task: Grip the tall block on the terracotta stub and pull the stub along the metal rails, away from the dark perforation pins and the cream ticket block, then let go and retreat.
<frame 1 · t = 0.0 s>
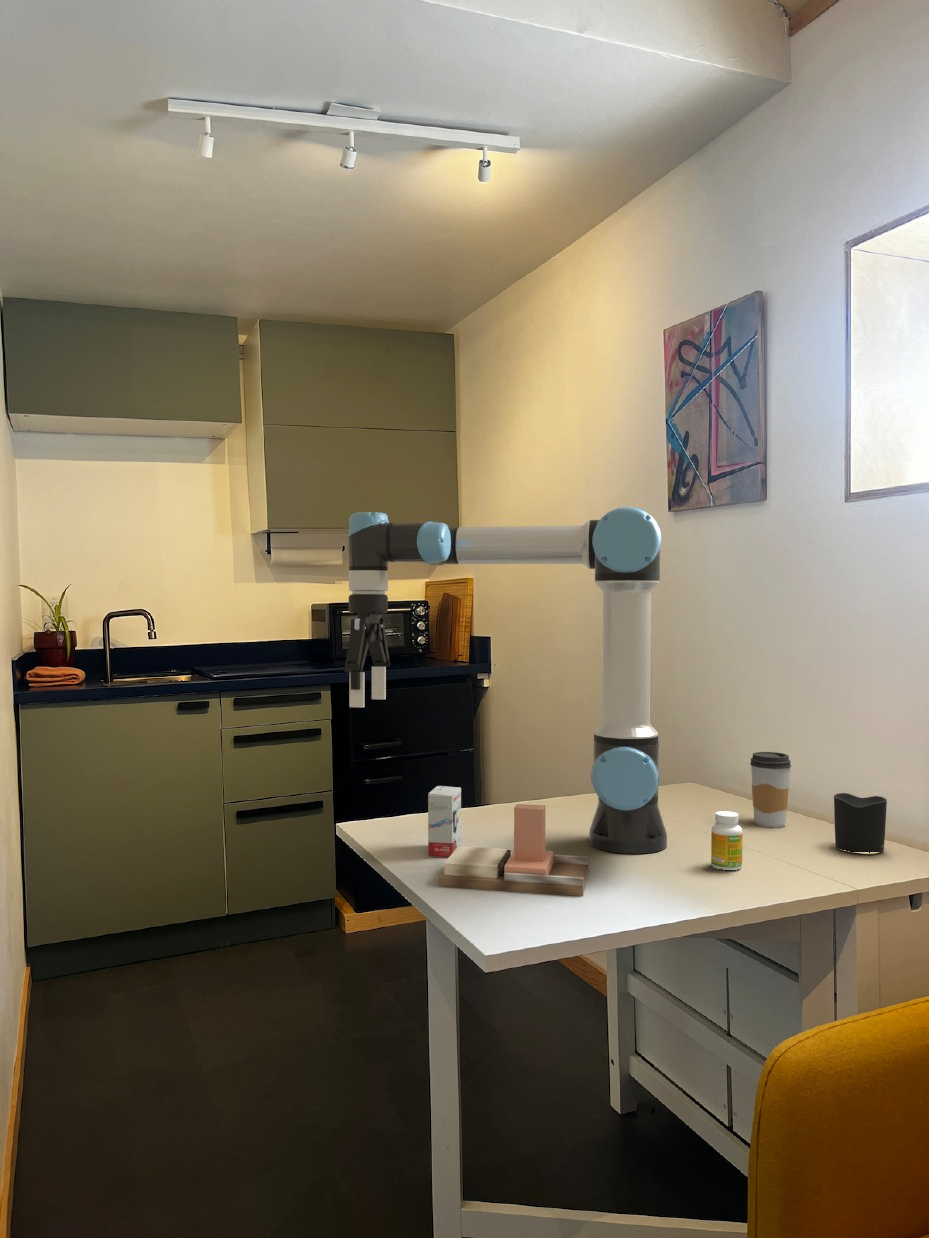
hand: (368, 703, 180), 28 cm above the table, fingers open, 13 cm apart
coffee cup: (769, 825, 200), on the table
pen holder: (859, 850, 180), on the table
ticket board: (504, 877, 161), on the table
supplement bottle: (726, 868, 168), on the table
stub: (529, 838, 160), point 7 cm above the table, slide at 0.0 cm
ink box: (444, 852, 178), on the table
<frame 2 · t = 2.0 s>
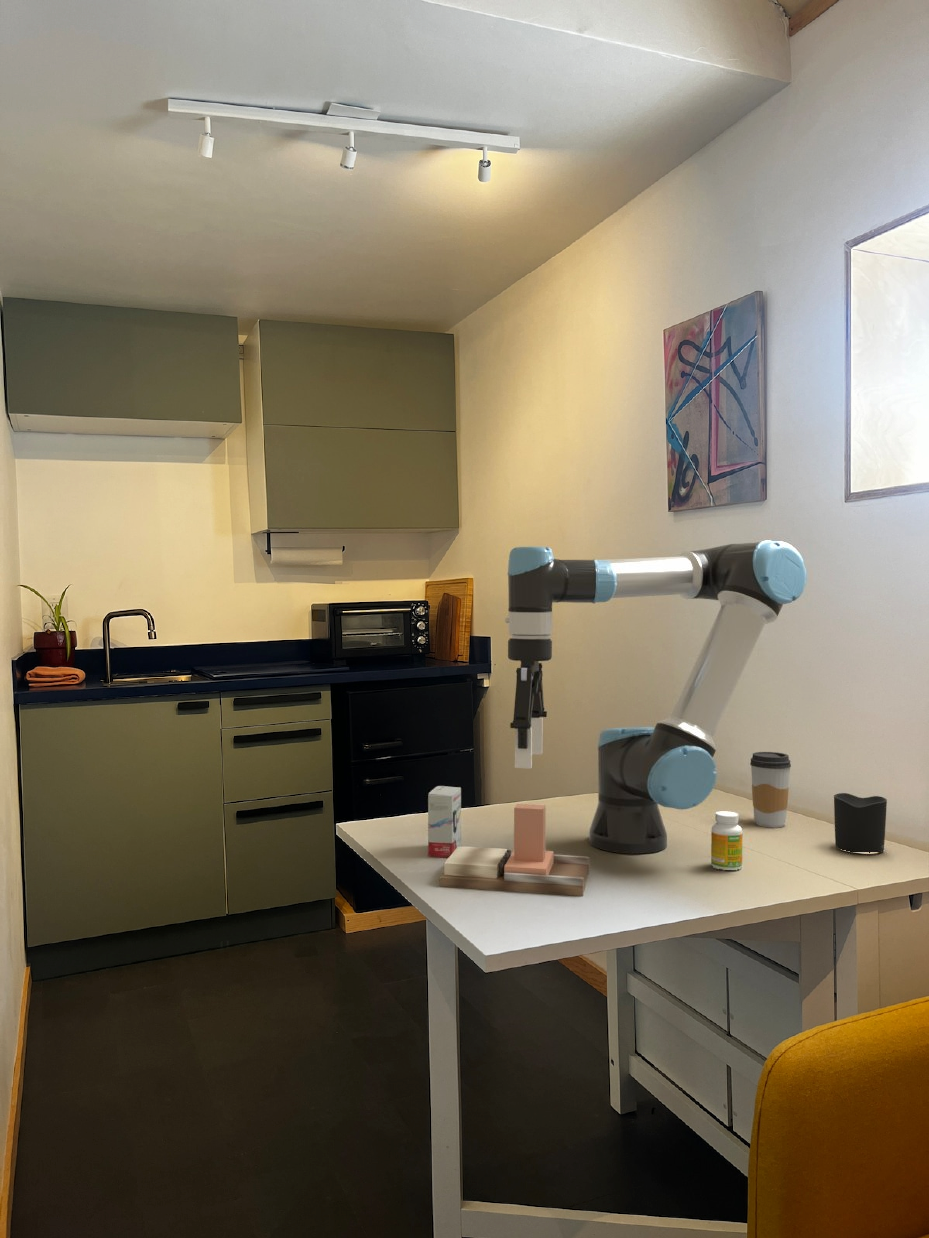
hand: (529, 760, 160), 20 cm above the table, fingers open, 13 cm apart
nothing on the table moved.
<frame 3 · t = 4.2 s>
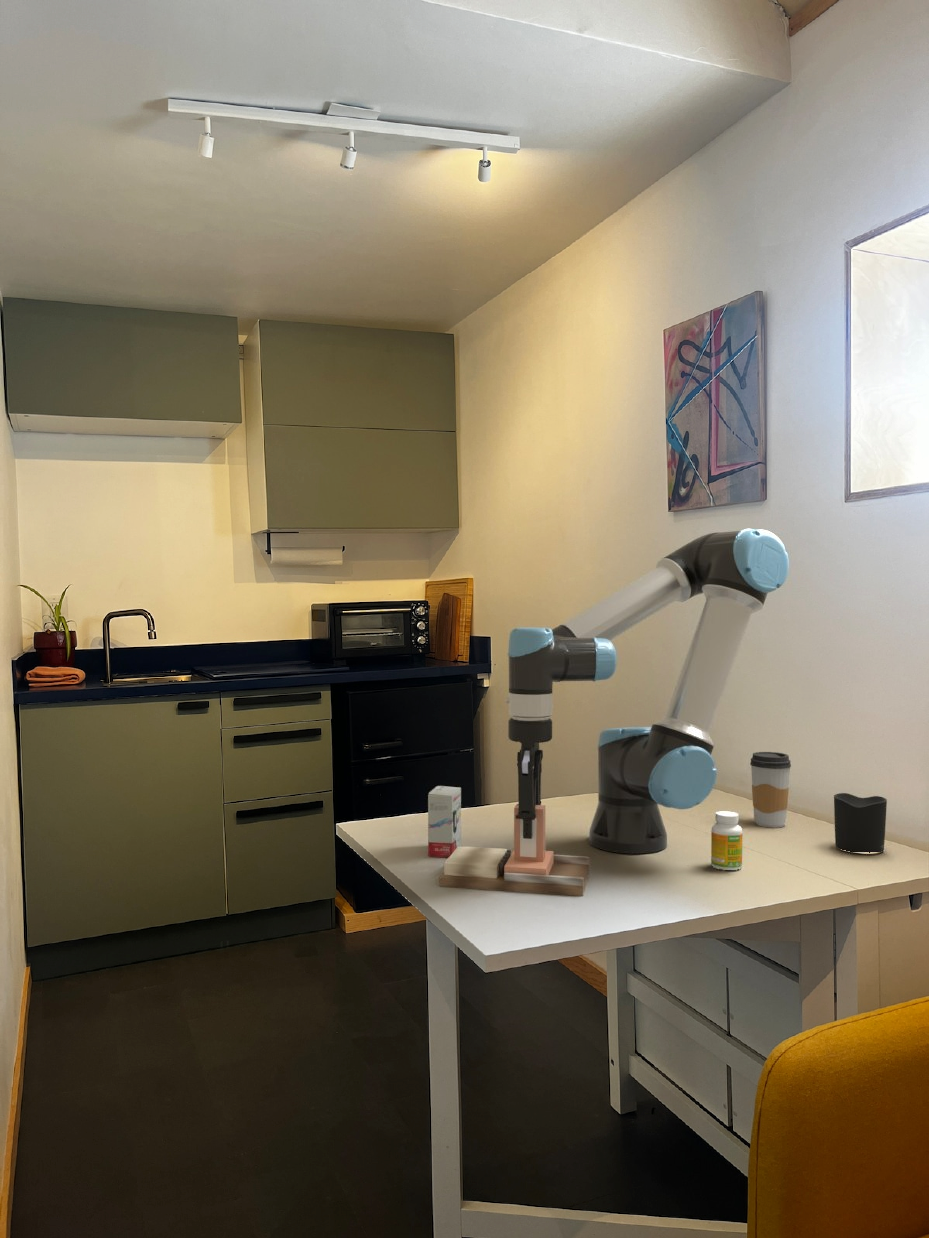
hand: (529, 852, 160), 5 cm above the table, fingers closed on stub, 3 cm apart
stub: (529, 838, 160), point 7 cm above the table, slide at 0.0 cm, touching gripper
everything else where it was.
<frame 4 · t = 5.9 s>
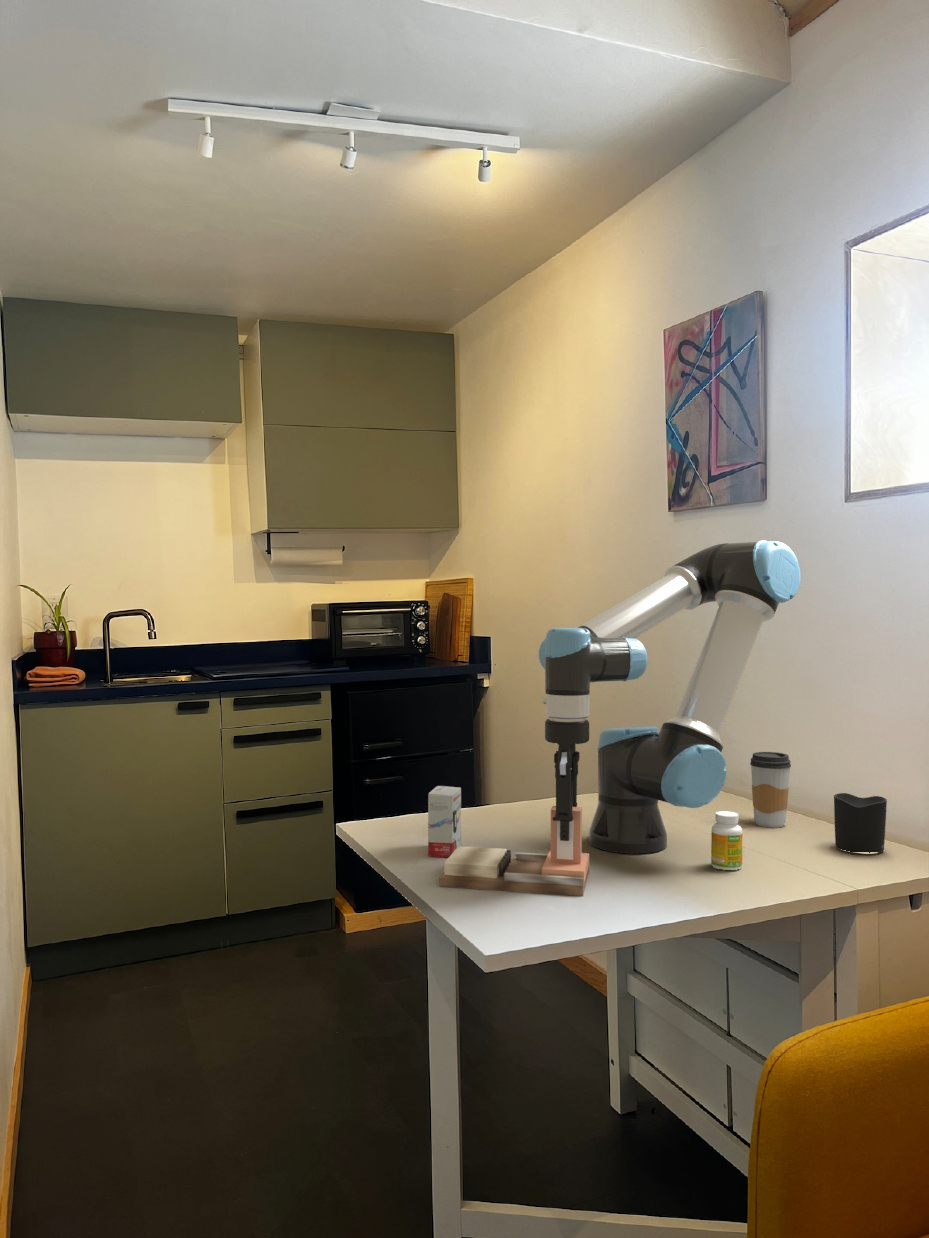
hand: (566, 855, 159), 5 cm above the table, fingers closed on stub, 3 cm apart
stub: (566, 840, 159), point 7 cm above the table, slide at 6.3 cm, touching gripper
everything else where it was.
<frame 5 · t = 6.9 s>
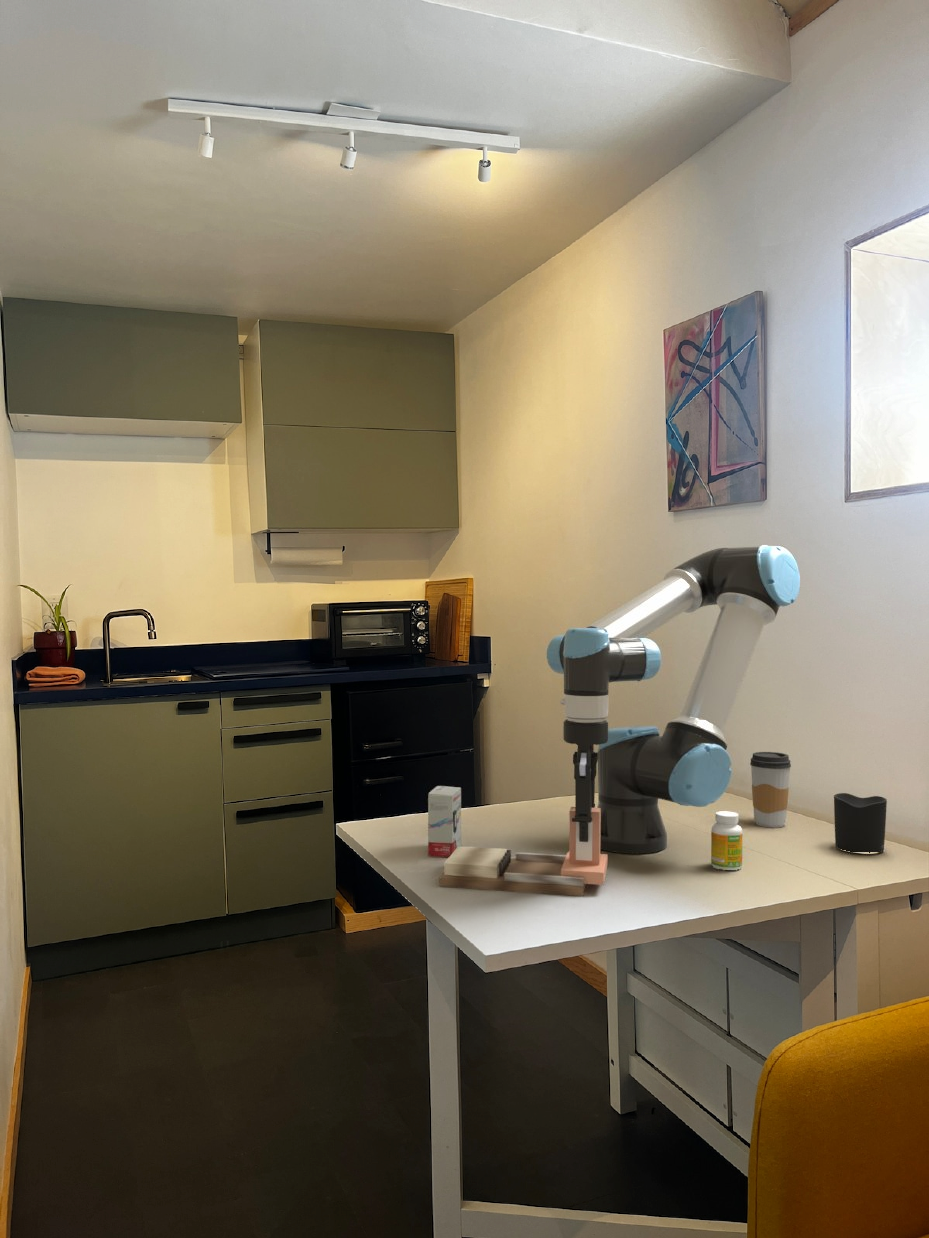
hand: (584, 856, 158), 5 cm above the table, fingers closed on stub, 3 cm apart
stub: (585, 841, 158), point 7 cm above the table, slide at 9.5 cm, touching gripper
everything else where it was.
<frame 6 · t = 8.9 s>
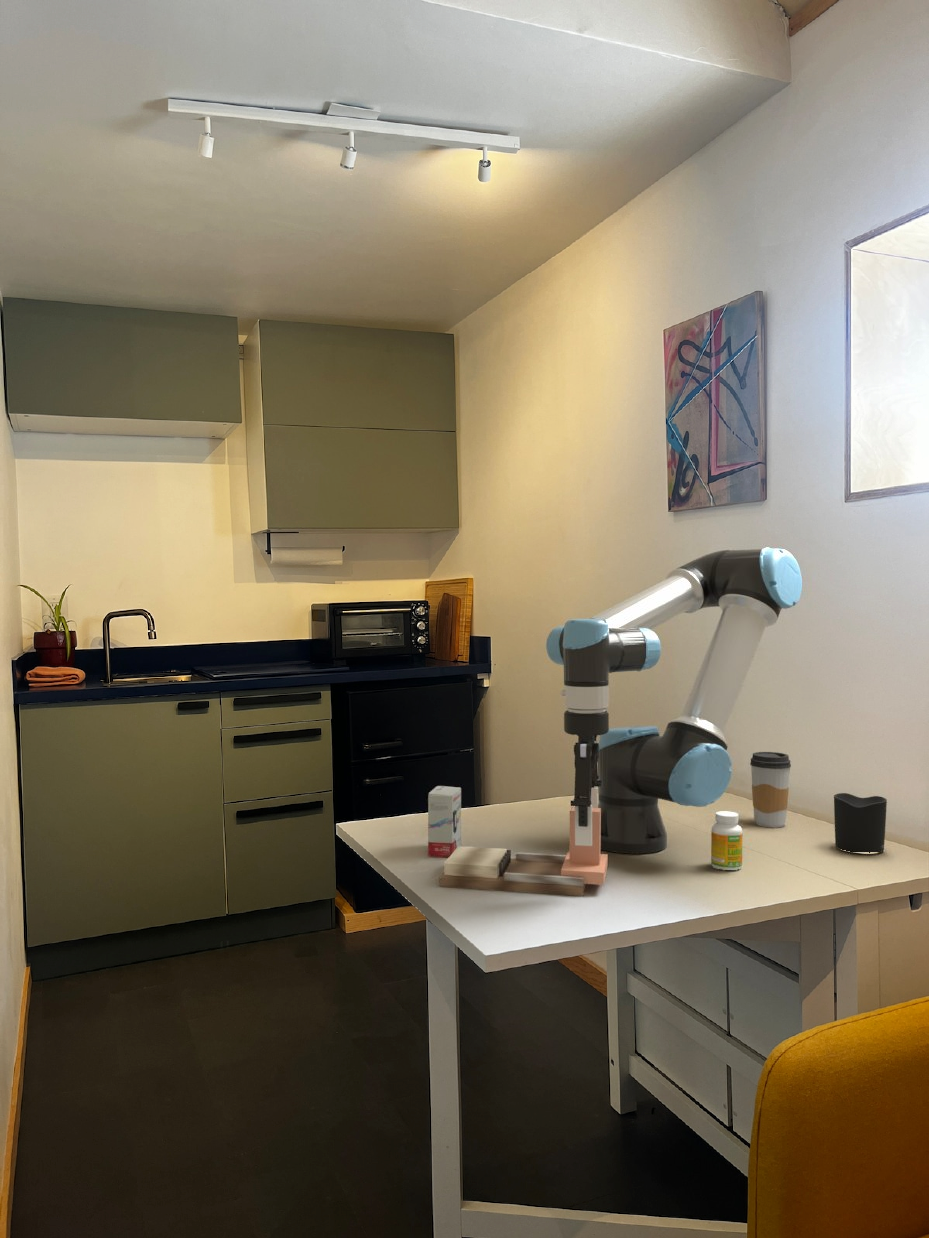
hand: (586, 834, 159), 8 cm above the table, fingers open, 13 cm apart
stub: (585, 841, 158), point 7 cm above the table, slide at 9.5 cm
everything else where it was.
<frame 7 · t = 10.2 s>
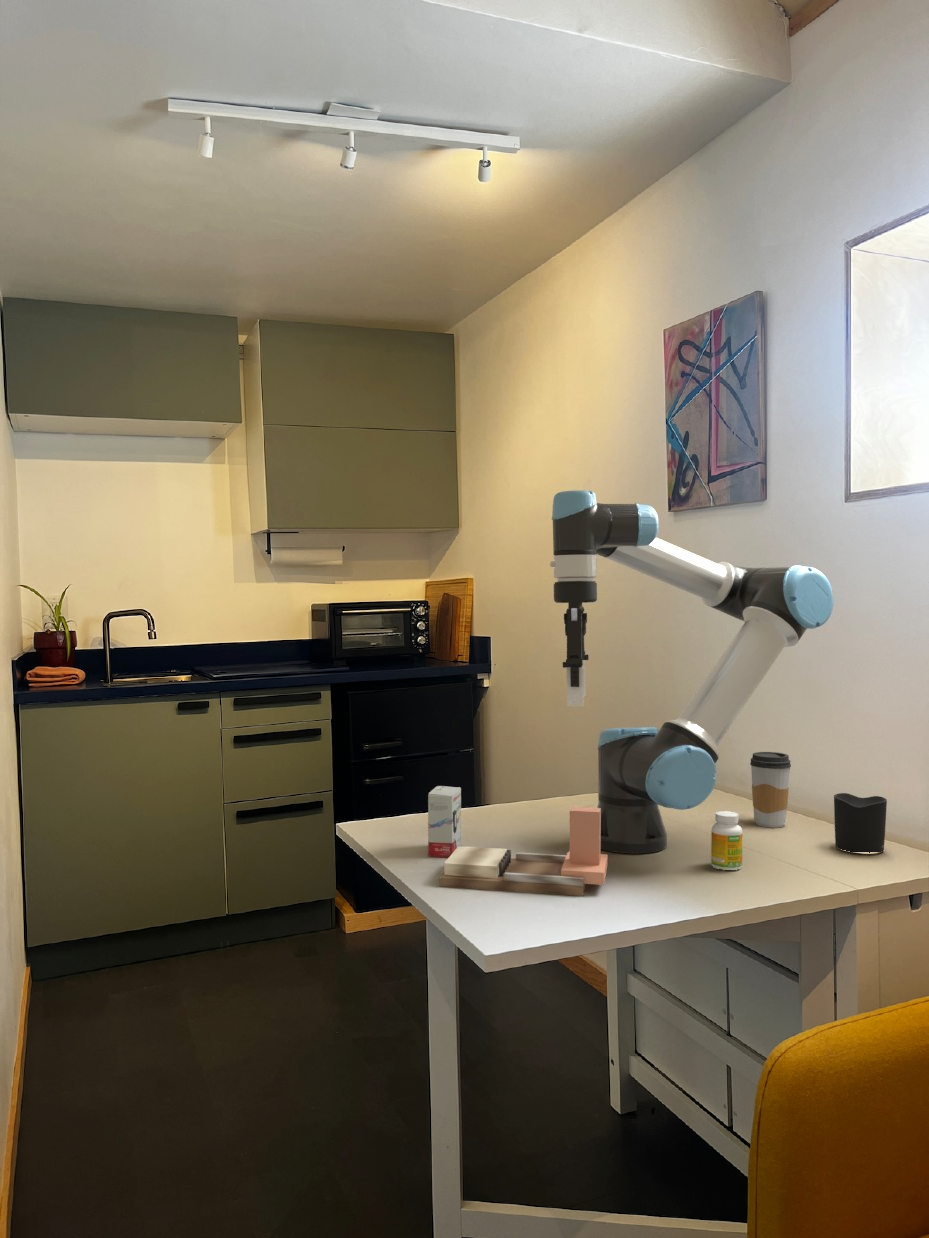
hand: (576, 701, 164), 30 cm above the table, fingers open, 13 cm apart
nothing on the table moved.
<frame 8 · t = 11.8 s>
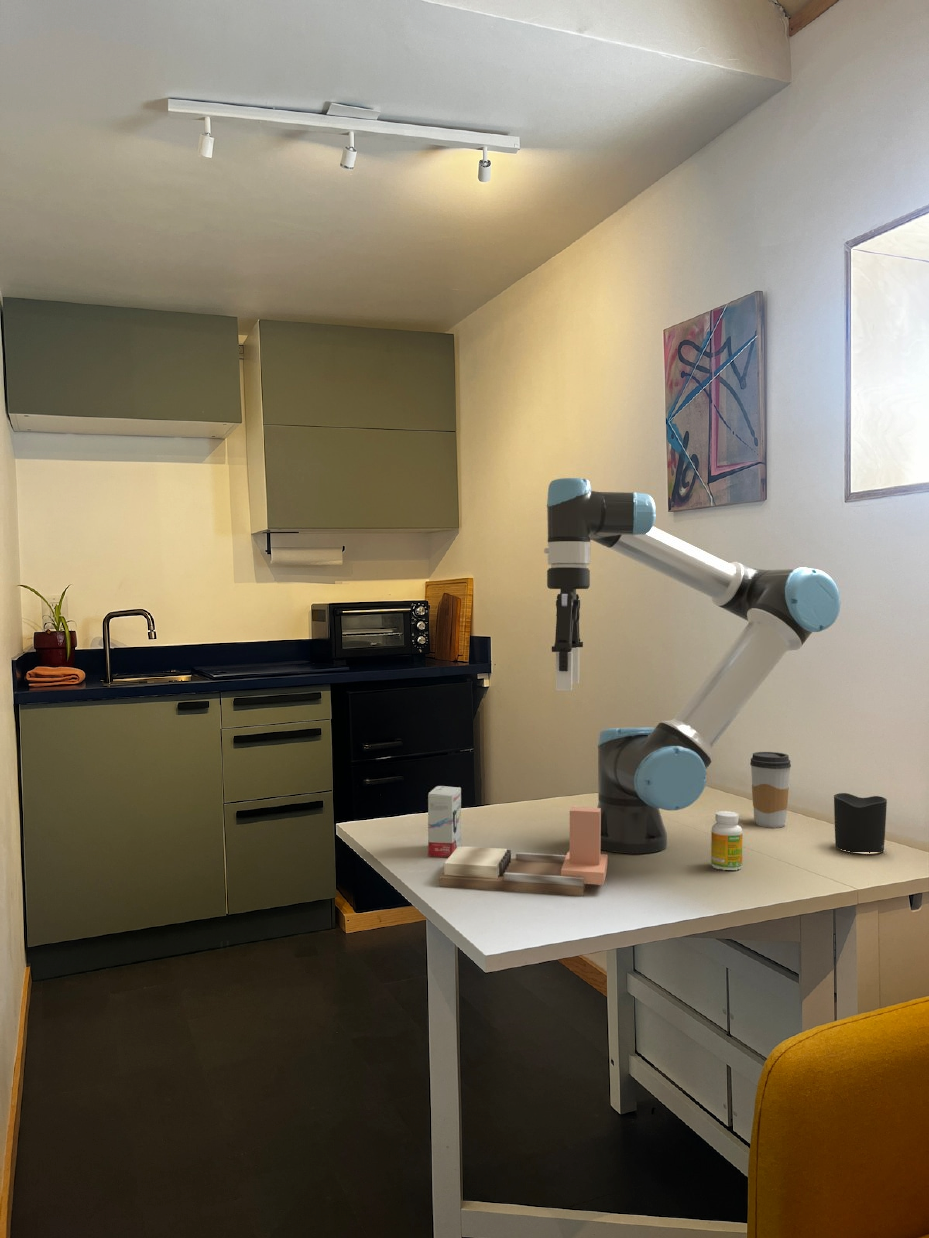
hand: (567, 686, 165), 33 cm above the table, fingers open, 13 cm apart
nothing on the table moved.
at the end: stub slide at 9.5 cm; the gripper is holding nothing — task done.
